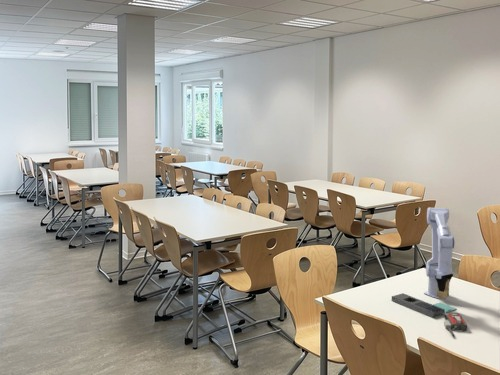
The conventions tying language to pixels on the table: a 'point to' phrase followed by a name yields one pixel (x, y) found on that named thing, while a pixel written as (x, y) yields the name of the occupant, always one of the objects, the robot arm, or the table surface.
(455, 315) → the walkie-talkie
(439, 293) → the oak peg
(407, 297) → the rack frame
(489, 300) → the table surface
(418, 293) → the table surface
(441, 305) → the teal mat
